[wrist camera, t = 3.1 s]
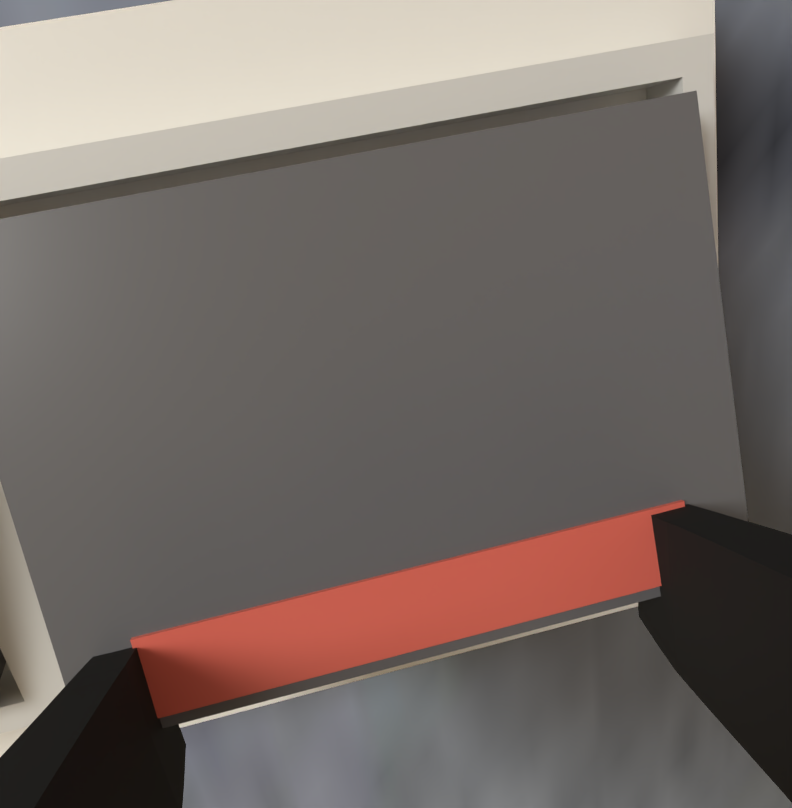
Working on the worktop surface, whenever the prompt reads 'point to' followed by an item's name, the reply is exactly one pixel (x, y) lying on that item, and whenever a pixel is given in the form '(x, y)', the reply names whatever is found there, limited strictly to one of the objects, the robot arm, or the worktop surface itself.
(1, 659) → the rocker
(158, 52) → the rocker switch panel
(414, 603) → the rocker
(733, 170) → the worktop surface
